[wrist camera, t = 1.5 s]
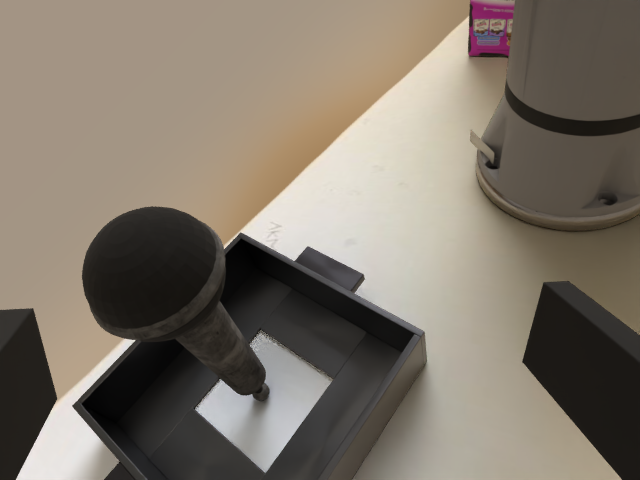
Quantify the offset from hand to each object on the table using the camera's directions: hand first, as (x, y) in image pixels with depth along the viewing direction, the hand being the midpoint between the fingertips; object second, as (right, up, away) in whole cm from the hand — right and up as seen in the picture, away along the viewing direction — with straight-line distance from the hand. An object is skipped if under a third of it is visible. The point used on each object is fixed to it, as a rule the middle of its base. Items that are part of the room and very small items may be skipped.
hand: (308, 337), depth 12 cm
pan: (-4, -9, +23) cm, 25 cm away
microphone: (-4, -9, +23) cm, 25 cm away
